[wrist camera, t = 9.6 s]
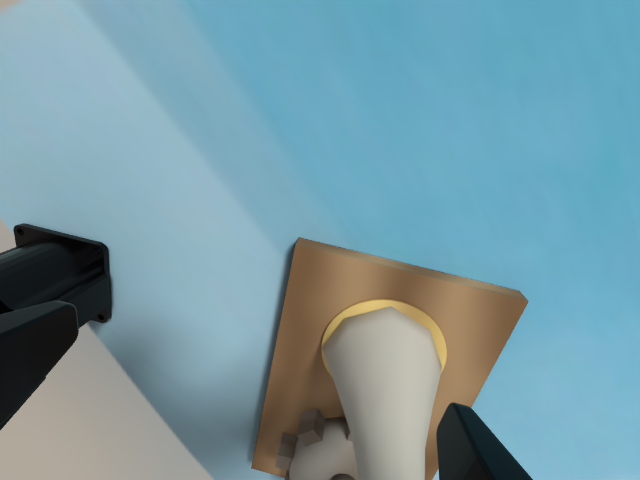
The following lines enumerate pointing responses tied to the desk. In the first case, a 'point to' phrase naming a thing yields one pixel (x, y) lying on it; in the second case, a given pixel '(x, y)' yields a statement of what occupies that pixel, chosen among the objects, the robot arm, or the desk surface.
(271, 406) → the gear board
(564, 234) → the desk surface
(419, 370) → the flask
